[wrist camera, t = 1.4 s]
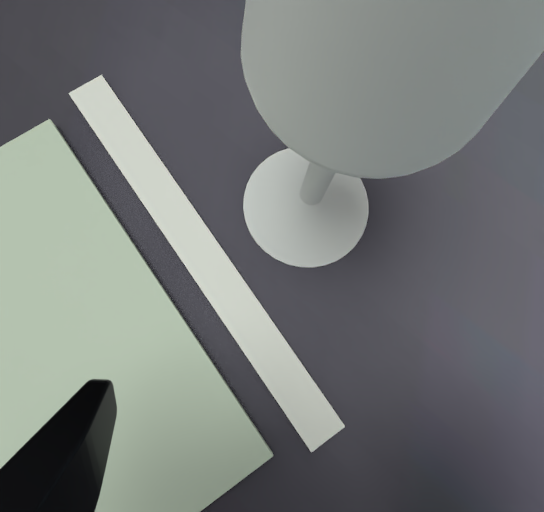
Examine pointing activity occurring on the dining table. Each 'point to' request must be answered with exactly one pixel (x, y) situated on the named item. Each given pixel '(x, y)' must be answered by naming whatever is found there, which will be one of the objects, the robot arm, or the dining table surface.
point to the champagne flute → (368, 103)
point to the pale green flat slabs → (130, 323)
